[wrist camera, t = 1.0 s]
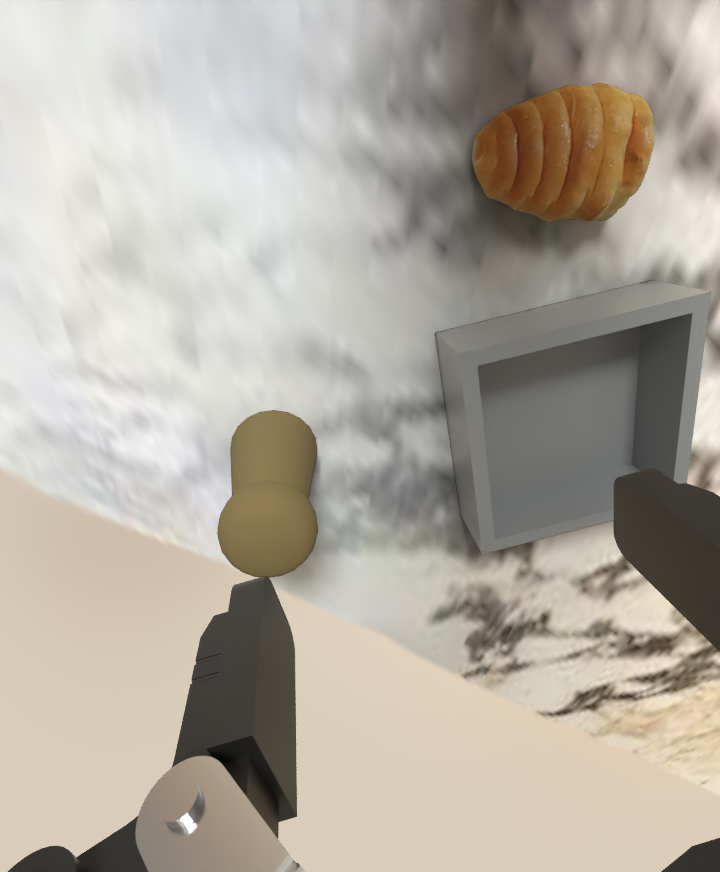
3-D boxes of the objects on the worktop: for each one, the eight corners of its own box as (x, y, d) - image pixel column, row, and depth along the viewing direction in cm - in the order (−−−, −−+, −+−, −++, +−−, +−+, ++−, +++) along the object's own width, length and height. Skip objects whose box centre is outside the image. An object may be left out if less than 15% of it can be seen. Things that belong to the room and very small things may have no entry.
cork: (333, 457, 34) (350, 558, 24) (265, 500, 35) (255, 613, 25) (284, 393, 32) (280, 476, 22) (211, 441, 32) (177, 541, 23)
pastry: (462, 223, 29) (485, 224, 25) (471, 88, 26) (499, 68, 22) (606, 220, 30) (647, 220, 26) (630, 89, 27) (680, 71, 23)
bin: (434, 332, 31) (458, 353, 27) (651, 279, 31) (711, 291, 27) (459, 513, 38) (482, 554, 33) (638, 468, 38) (684, 502, 34)
